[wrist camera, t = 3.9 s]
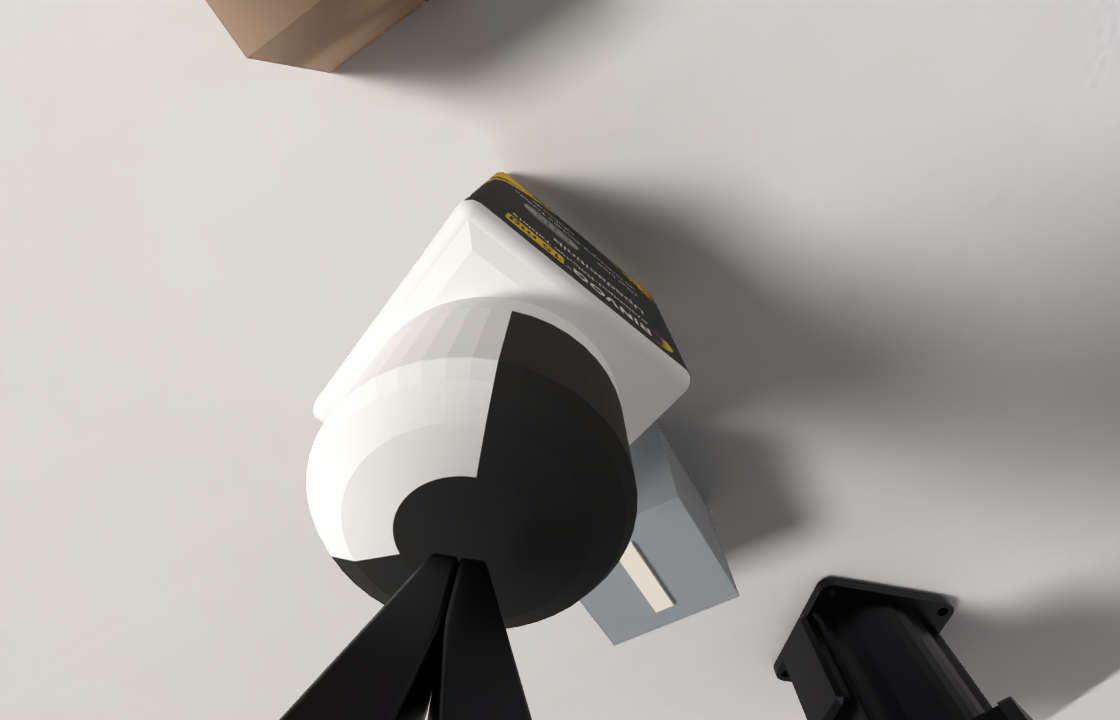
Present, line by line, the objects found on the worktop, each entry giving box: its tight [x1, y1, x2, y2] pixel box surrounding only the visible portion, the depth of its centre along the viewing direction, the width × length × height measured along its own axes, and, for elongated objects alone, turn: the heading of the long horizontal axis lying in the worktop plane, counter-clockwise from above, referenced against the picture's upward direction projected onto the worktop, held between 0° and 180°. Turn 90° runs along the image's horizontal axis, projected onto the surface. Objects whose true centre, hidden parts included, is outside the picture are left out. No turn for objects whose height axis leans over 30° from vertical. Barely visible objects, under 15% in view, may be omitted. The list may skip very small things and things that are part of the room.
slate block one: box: [580, 420, 739, 646], centre depth 21 cm, size 5×5×5 cm
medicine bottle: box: [306, 172, 690, 628], centre depth 15 cm, size 7×7×12 cm
